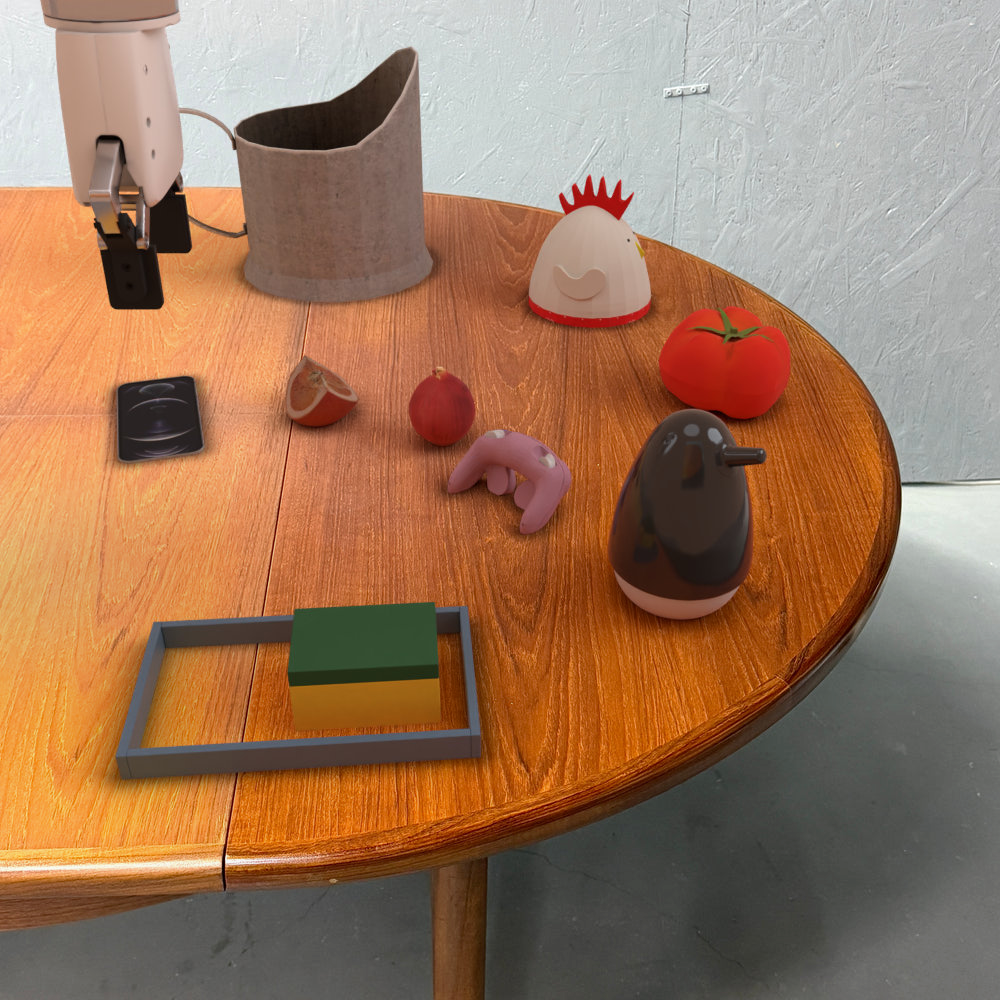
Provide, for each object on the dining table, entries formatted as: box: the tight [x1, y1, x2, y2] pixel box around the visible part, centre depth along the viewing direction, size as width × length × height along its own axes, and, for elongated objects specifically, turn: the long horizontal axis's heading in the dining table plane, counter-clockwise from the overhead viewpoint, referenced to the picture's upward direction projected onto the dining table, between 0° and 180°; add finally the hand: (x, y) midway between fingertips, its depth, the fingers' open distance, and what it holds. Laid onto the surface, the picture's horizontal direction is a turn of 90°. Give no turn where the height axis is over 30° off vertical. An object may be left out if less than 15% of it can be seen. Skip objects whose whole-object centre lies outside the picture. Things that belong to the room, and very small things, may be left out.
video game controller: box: [447, 428, 572, 535], centre depth 88 cm, size 10×5×7 cm, turn 45°
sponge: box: [286, 601, 442, 732], centre depth 68 cm, size 9×6×5 cm, turn 95°
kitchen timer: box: [528, 174, 652, 329], centre depth 119 cm, size 14×14×15 cm
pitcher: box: [179, 46, 434, 303], centre depth 124 cm, size 23×32×25 cm
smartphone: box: [116, 375, 206, 465], centre depth 99 cm, size 8×1×15 cm
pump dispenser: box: [607, 408, 768, 620], centre depth 75 cm, size 10×10×15 cm
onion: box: [408, 366, 477, 447], centre depth 95 cm, size 6×6×8 cm
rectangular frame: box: [115, 605, 482, 781], centre depth 69 cm, size 21×12×2 cm, turn 95°
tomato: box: [658, 305, 792, 420], centre depth 101 cm, size 13×12×8 cm
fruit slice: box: [284, 354, 360, 428], centre depth 100 cm, size 8×7×5 cm
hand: (154, 278), depth 71 cm, fingers open, 9 cm apart
